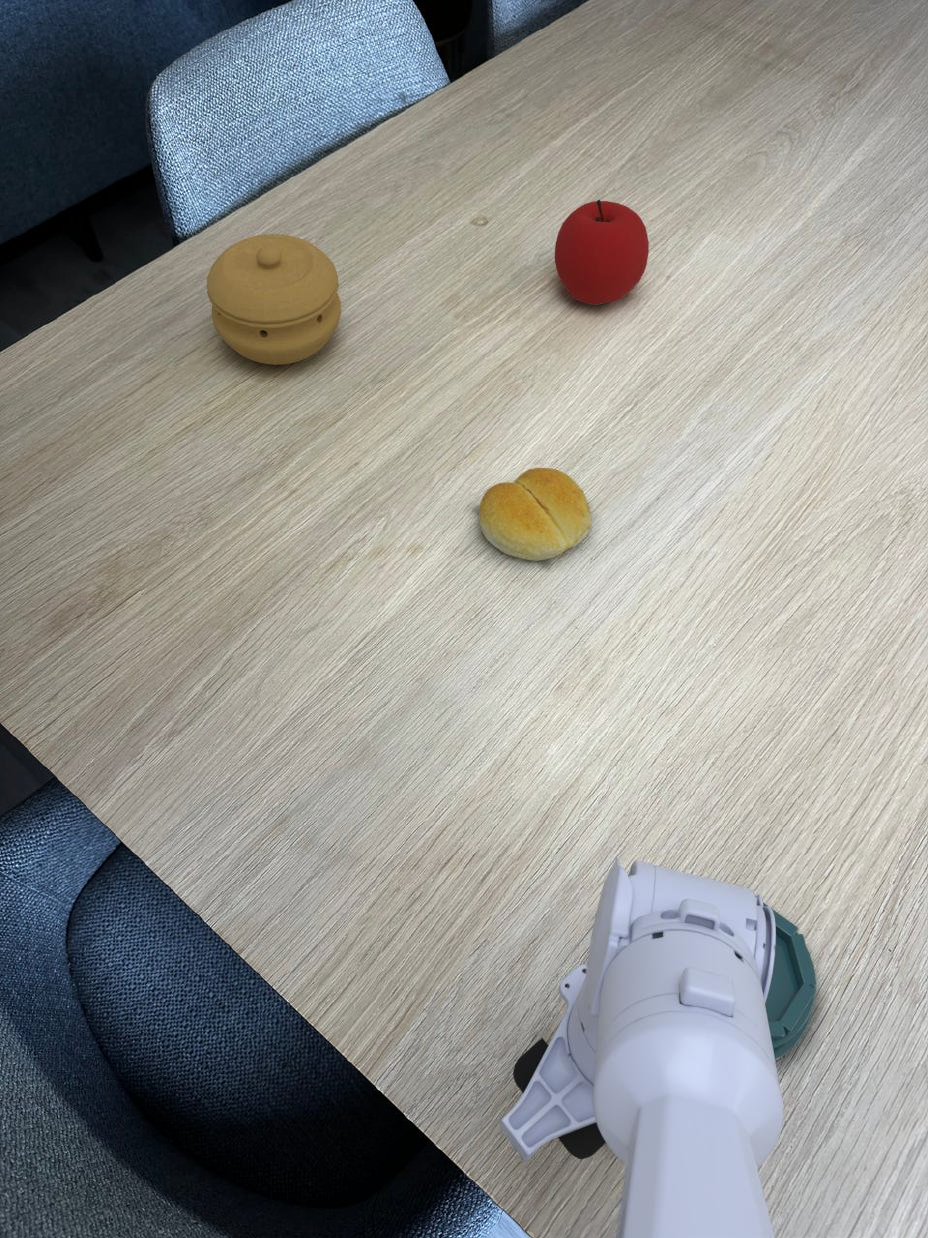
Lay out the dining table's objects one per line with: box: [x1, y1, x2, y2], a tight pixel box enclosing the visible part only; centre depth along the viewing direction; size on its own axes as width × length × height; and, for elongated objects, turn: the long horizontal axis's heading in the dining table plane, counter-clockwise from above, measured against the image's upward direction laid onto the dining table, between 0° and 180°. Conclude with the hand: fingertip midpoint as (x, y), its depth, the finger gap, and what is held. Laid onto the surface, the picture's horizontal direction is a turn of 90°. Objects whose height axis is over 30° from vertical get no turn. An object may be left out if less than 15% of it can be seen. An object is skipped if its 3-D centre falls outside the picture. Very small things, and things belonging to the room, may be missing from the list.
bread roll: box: [478, 467, 593, 562], centre depth 84 cm, size 8×9×4 cm
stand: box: [763, 902, 818, 1062], centre depth 62 cm, size 10×10×4 cm
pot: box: [206, 233, 342, 366], centre depth 94 cm, size 12×12×10 cm
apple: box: [554, 199, 650, 305], centre depth 99 cm, size 9×9×10 cm
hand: (600, 1077), depth 59 cm, fingers closed on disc, 5 cm apart
